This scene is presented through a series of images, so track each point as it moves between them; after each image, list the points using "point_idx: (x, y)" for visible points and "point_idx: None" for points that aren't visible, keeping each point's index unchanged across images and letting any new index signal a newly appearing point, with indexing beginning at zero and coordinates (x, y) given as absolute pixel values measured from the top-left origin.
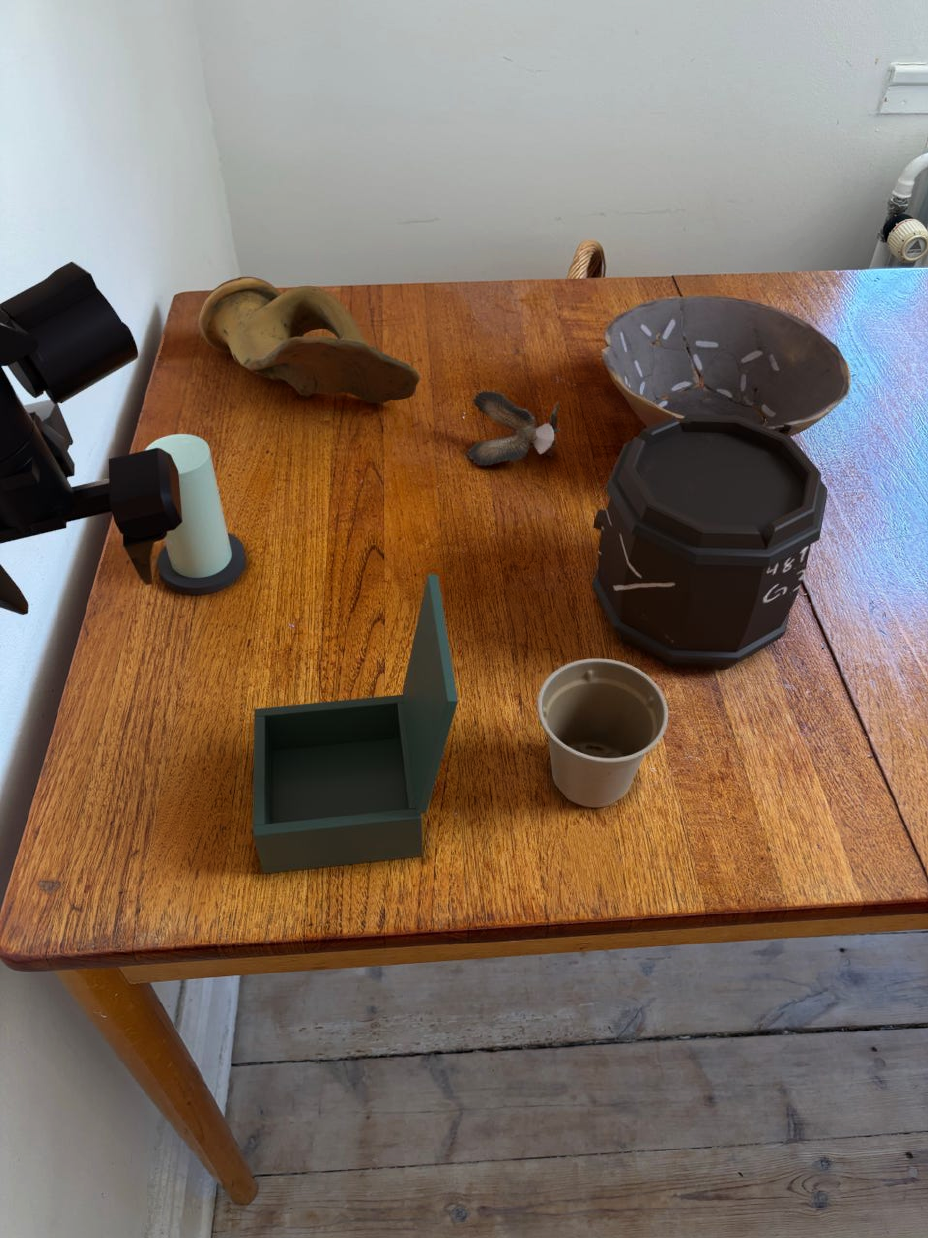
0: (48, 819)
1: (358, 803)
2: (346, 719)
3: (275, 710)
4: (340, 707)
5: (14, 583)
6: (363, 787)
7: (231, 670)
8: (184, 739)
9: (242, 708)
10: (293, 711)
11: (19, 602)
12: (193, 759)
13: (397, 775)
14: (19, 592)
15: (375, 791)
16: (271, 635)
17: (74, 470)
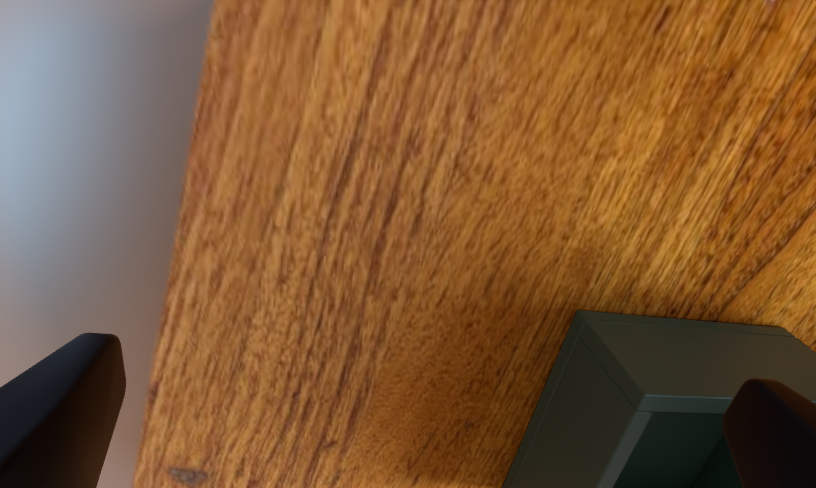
0: (173, 372)
1: (663, 436)
2: None
3: (677, 405)
4: None
5: (26, 465)
6: (683, 415)
7: (594, 98)
8: (450, 256)
9: (576, 210)
10: (704, 410)
11: (84, 474)
12: (455, 303)
13: None
14: (71, 435)
15: (693, 422)
16: (717, 11)
17: None
